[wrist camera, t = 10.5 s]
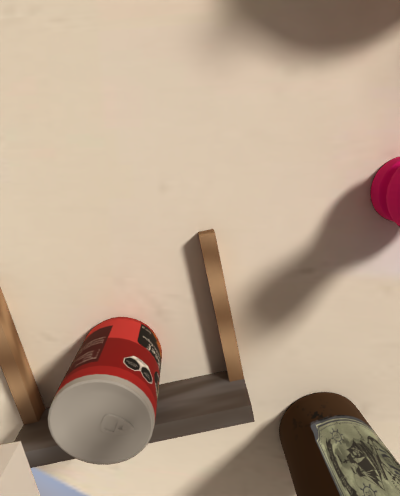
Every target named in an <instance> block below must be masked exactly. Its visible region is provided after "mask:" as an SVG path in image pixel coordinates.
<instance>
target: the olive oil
mask: <svg viewBox="0 0 400 496" xmlns="http://www.w3.org/2000/svg"><path fill="white" fill-rule="evenodd" d="M279 434H280V440H281V444H282V447H283V450H284V454H285V457H286V460H287V463H288V467H289V470H290V473H291V477H292V480H293V483H294V487H295V490H296V494H297V496H400V464H399V463H398V462H397V461H396V459H395V458H394V457H393V455H392V454H391V453H390V451H389V450H388V449H387V448H386V446H385V445H384V444H383V442H382V441H381V440H380V438H379V437H378V436H377V434H376V433H375V432H374V431H373V429H372V428H371V426H370V425H369V424H368V422H367V421H366V420H365V418H364V417H363V416H362V414H361V413H360V411H359V410H358V409H357V408H356V406H355V405H354V404H353V403H352V402H351V401H350V400H348V399H347V398H345V397H344V396H341V395H339V394H335V393H329V392H320V393H314V394H310V395H308V396H305V397H303V398H301V399H299V400H298V401H296V402H295V403H294V404H293V405H291V406H290V407H289V409H288V410H287V411H286V412H285V414H284V416H283V418H282V420H281V423H280V429H279Z"/></svg>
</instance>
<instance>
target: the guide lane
mask: <svg viewBox="0 0 400 496" xmlns="http://www.w3.org/2000/svg"><path fill="white" fill-rule="evenodd" d="M198 235H199V240H200V245H201V249H202V254H203V259H204V263H205V268H206V273H207V277H208V282H209V287H210V292H211V296H212V301H213V306H214V310H215V315H216V320H217V325H218V329H219V334H220V339H221V343H222V348H223V353H224V357H225V362H226V367H227V371H223V372H218V373H214V374H209V375H204V376H199V377H194V378H190V379H185V380H180V381H175V382H170V383H166V384H161V385H159V390H158V400H157V410H156V417H155V425H154V429H153V432H152V436H151V438H150V440H149V442H148V443H153V442H158V441H162V440H167V439H172V438H177V437H182V436H186V435H191V434H196V433H201V432H206V431H211V430H215V429H220V428H225V427H230V426H235V425H239V424H244V423H249V422H254V416H253V411H252V406H251V402H250V399H249V395H248V391H247V388H246V384H245V380H244V376H243V371H242V366H241V361H240V356H239V351H238V346H237V341H236V336H235V331H234V326H233V321H232V316H231V311H230V306H229V301H228V296H227V291H226V286H225V281H224V276H223V271H222V266H221V261H220V256H219V251H218V246H217V241H216V236H215V232H214V230H213V229H211V230H206V231H201V232H198ZM0 365H1V368H2V370H3V373H4V376H5V378H6V381H7V383H8V386H9V388H10V391H11V393H12V396H13V398H14V401H15V403H16V406H17V408H18V411H19V414H20V416H21V419H22V421H23V424H24V426H23V427H22V429H21V431H20V432H19V434H18V436H17V438H16V439H15V441H14V442H18V441H21V444H22V446H23V449H24V452H25V455H26V457H27V460H28V463H29V466H30V468H32V467H37V466H42V465H47V464H52V463H57V462H61V461H66V460H71V459H76V458H74V457H72V456H70V455H69V454H68V453H66V452H65V451H64V450H62V449H61V448H60V447H59V445H58V444H57V443H56V442H55V440H54V439H53V437H52V435H51V433H50V430H49V426H48V414H49V409H50V408H46V409H45V406H44V404H43V401H42V398H41V395H40V393H39V390H38V387H37V385H36V382H35V379H34V377H33V374H32V371H31V368H30V366H29V363H28V360H27V358H26V355H25V352H24V350H23V347H22V344H21V342H20V339H19V336H18V333H17V331H16V328H15V325H14V323H13V320H12V317H11V315H10V312H9V309H8V306H7V304H6V301H5V298H4V296H3V293H2V290H1V288H0Z"/></svg>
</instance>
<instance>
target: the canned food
mask: <svg viewBox="0 0 400 496" xmlns="http://www.w3.org/2000/svg"><path fill="white" fill-rule="evenodd" d="M161 359H162V350H161V345H160V343H159V341H158V338H157V336H156V335H155V333H154V332H153V331H152V330H151V329H150V328H149V327H148V326H147V325H146V324H144V323H142V322H141V321H138V320H136V319H132V318H128V317H117V318H111V319H108V320H105V321H104V322H102V323H100V324H98V325H97V326H95V327H94V328H93V329H92V330H91V331H90V332H89V334H88V335H87V337H86V338H85V340H84V342H83V344H82V346H81V348H80V350H79V351H78V353H77V355H76V357H75V359H74V361H73V363H72V364H71V366H70V368H69V370H68V372H67V374H66V375H65V377H64V379H63V381H62V383H61V385H60V387H59V389H58V391H57V393H56V395H55V397H54V399H53V401H52V403H51V407H50V409H49V414H48V426H49V430H50V433H51V435H52V437H53V439H54V440H55V442H56V443H57V444H58V445H59V447H60V448H61V449H62V450H64V451H65V452H66V453H68V454H69V455H70V456H72V457H74V458H76V459H78V460H81V461H84V462H87V463H93V464H107V465H108V464H115V463H120V462H123V461H126V460H128V459H130V458H132V457H134V456H136V455H137V454H138V453H139V452H141V451H142V450H143V449H144V448H145V446H146V445H147V444H148V442H149V440H150V438H151V436H152V432H153V429H154V425H155V417H156V410H157V400H158V390H159V379H160V369H161Z"/></svg>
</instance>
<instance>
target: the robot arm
mask: <svg viewBox="0 0 400 496" xmlns="http://www.w3.org/2000/svg"><path fill="white" fill-rule="evenodd" d="M0 496H40V494H39V491H38V488H37V485H36V482H35V480H34V477H33V474H32V471H31V468H30V466H29V463H28V460H27V457H26V455H25V452H24V449H23V446H22V444H21V441H18V442H13V443H7V444H2V445H0Z"/></svg>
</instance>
